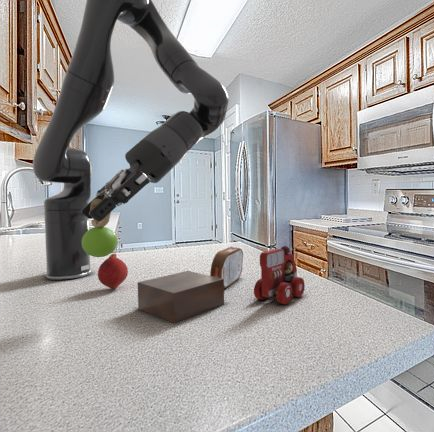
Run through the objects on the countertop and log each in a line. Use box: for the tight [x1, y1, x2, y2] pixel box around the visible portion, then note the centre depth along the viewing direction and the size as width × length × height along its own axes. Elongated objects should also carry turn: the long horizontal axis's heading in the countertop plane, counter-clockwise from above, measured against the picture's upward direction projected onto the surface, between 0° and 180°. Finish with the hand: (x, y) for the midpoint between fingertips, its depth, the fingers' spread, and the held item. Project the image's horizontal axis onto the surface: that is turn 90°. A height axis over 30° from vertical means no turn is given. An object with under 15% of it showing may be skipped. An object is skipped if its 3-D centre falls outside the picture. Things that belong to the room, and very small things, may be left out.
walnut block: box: [137, 270, 225, 324], centre depth 58 cm, size 11×11×5 cm
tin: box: [209, 246, 244, 289], centre depth 73 cm, size 15×3×8 cm, turn 169°
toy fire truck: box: [253, 245, 306, 305], centre depth 63 cm, size 7×12×10 cm, turn 149°
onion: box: [97, 252, 129, 290], centre depth 69 cm, size 6×6×8 cm
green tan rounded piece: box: [82, 189, 118, 258], centre depth 54 cm, size 5×6×12 cm
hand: (89, 216), depth 53 cm, fingers closed on green tan rounded piece, 6 cm apart
